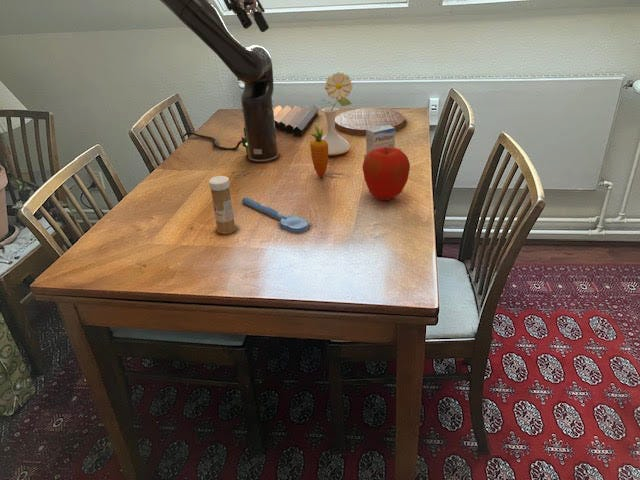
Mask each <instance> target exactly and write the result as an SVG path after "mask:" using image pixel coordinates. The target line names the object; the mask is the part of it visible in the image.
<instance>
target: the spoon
mask: <svg viewBox="0 0 640 480" xmlns="http://www.w3.org/2000/svg"><path fill="white" fill-rule="evenodd" d="M241 202H242V204H243V205H246V206H248V207H250V208H252V209H255V210H257V211H258V212H261V213H263V214H265V215H267V216H269V217H271V218H274V219H276V220H278V221H279V222H280V223H279V224H280V227H281V228H282V229H283V230H285V231H289V232H290V233H294V234H300V233H304V232H306V231H307V230H308V229H309V221H307V220H306V219H303V218H302V217H300V216H298V215H287V216H285V215H283V214H281V213H279V211H277V210H275V209H274V208H271V207H269V206H267V205H264V204H262V203H260V202H258V201H256V200H254V199H251V198H249V197H247V196H244V197H242V199H241Z"/></svg>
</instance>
